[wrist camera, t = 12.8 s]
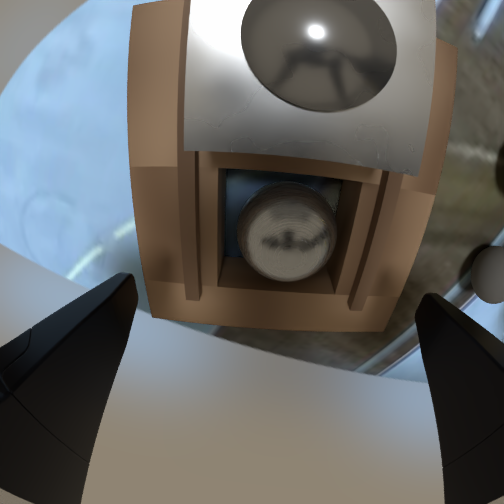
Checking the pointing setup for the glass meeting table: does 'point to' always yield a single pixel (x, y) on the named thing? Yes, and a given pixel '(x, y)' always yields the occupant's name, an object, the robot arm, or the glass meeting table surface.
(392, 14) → the grey sliding block
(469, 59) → the glass meeting table surface
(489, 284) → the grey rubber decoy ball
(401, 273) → the housing plate
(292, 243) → the steel ball
